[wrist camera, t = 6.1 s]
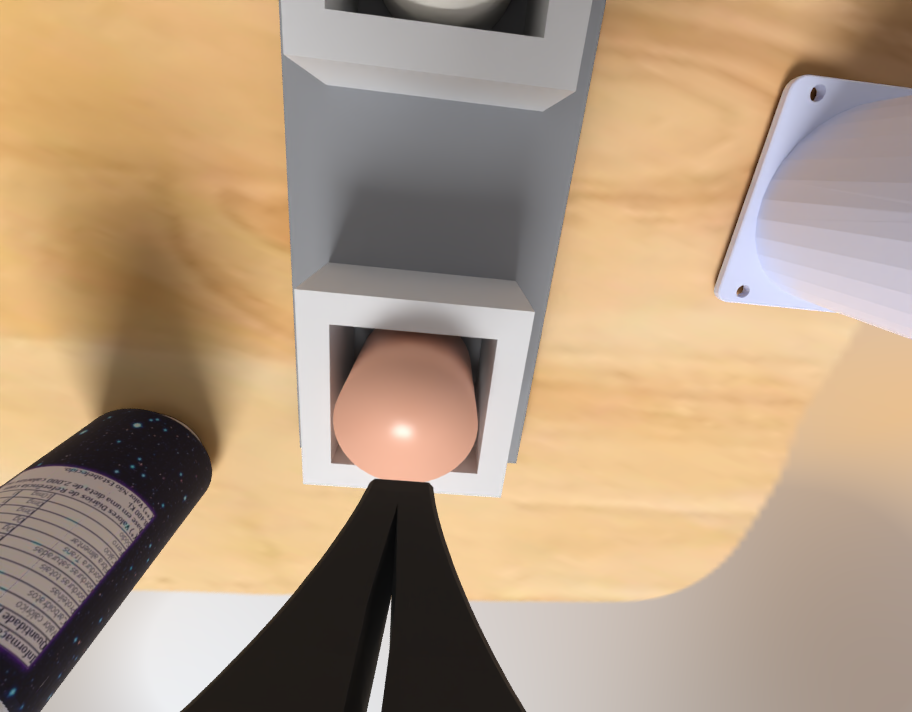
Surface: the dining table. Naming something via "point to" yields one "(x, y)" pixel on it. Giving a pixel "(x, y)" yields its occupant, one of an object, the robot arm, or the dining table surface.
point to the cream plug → (450, 11)
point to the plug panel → (428, 201)
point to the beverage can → (86, 540)
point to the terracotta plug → (408, 406)
